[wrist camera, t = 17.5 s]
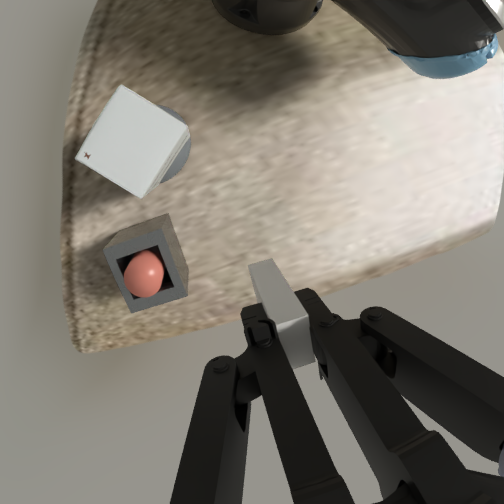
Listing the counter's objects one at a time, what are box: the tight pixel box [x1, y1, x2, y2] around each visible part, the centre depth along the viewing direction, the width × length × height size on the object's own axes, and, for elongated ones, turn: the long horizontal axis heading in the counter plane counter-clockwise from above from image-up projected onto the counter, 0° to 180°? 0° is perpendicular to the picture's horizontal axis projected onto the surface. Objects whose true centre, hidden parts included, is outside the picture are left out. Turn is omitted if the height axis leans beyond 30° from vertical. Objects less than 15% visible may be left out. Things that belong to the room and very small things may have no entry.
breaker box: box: [103, 213, 189, 313], centre depth 34 cm, size 8×7×8 cm
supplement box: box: [75, 85, 190, 199], centre depth 27 cm, size 7×7×13 cm
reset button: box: [124, 245, 166, 297], centre depth 32 cm, size 4×4×7 cm
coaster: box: [156, 105, 191, 184], centre depth 33 cm, size 10×10×1 cm
